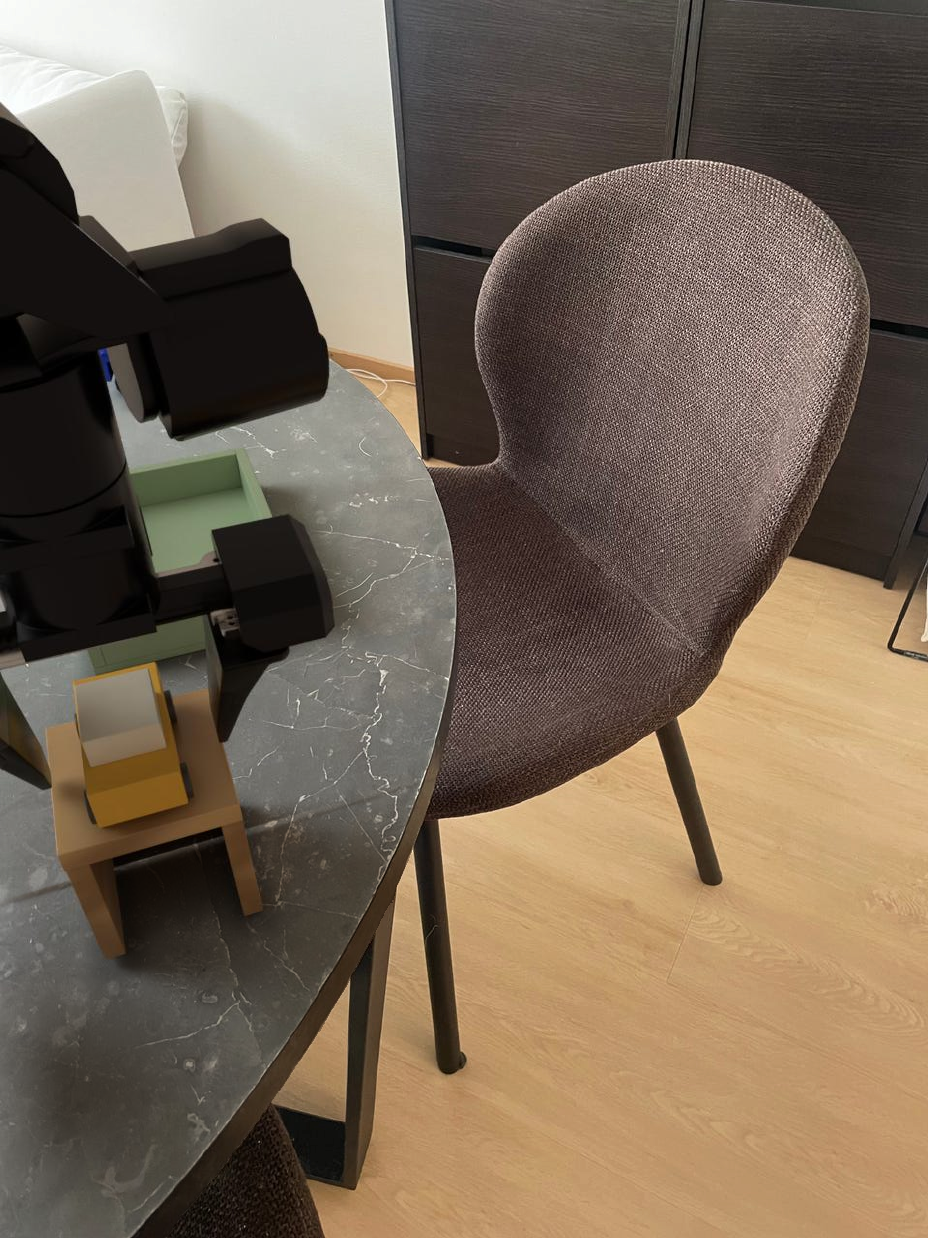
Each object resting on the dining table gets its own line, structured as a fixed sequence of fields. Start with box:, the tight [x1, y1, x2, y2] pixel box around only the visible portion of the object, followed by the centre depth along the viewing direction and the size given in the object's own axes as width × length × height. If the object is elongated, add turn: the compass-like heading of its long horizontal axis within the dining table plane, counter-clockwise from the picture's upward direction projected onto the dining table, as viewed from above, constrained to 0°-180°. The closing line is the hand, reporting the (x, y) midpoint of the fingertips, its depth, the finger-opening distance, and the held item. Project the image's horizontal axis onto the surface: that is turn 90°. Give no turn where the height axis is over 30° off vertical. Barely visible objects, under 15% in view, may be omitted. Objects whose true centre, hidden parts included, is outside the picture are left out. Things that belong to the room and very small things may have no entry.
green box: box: [86, 446, 274, 676], centre depth 70 cm, size 14×18×4 cm
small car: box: [72, 661, 194, 828], centre depth 45 cm, size 7×4×4 cm, turn 21°
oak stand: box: [44, 687, 264, 960], centre depth 49 cm, size 8×8×9 cm
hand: (136, 758), depth 46 cm, fingers open, 7 cm apart
